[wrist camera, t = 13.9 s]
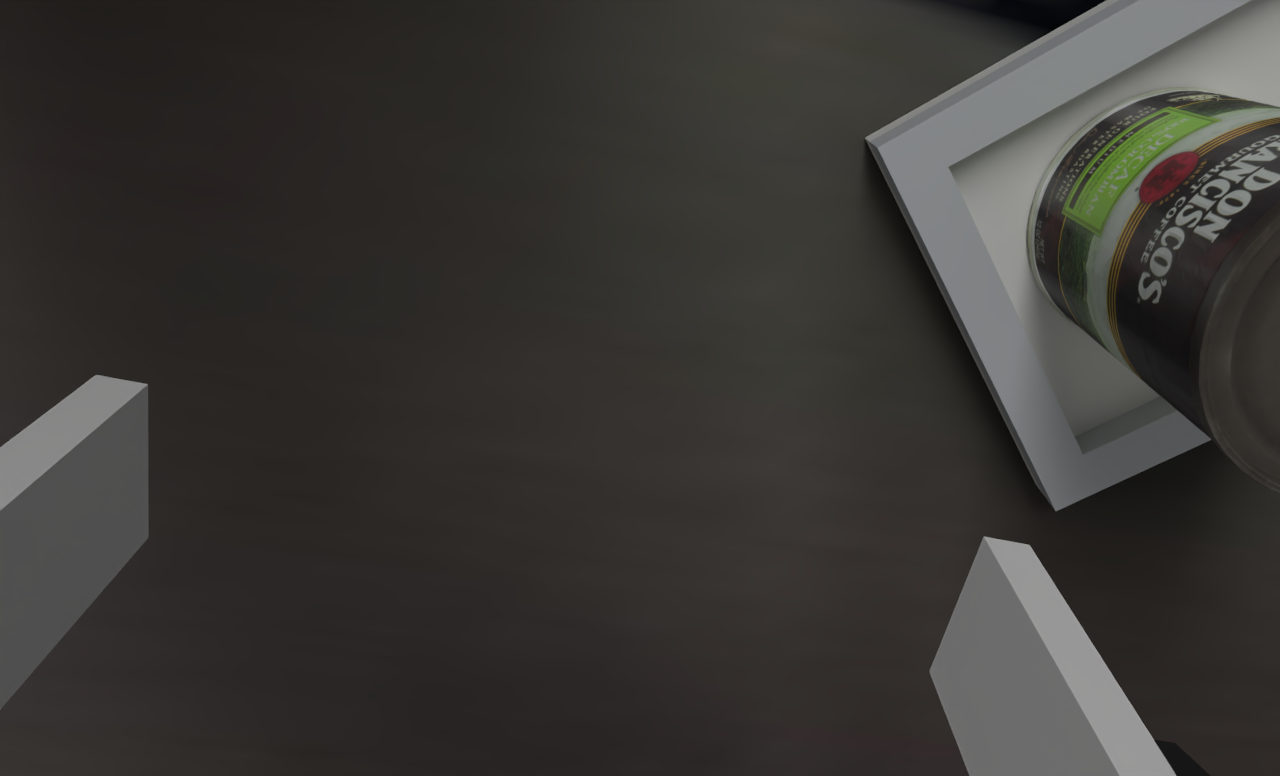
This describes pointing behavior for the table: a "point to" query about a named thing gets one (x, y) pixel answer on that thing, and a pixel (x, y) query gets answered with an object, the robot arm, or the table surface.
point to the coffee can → (1176, 256)
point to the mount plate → (1001, 203)
